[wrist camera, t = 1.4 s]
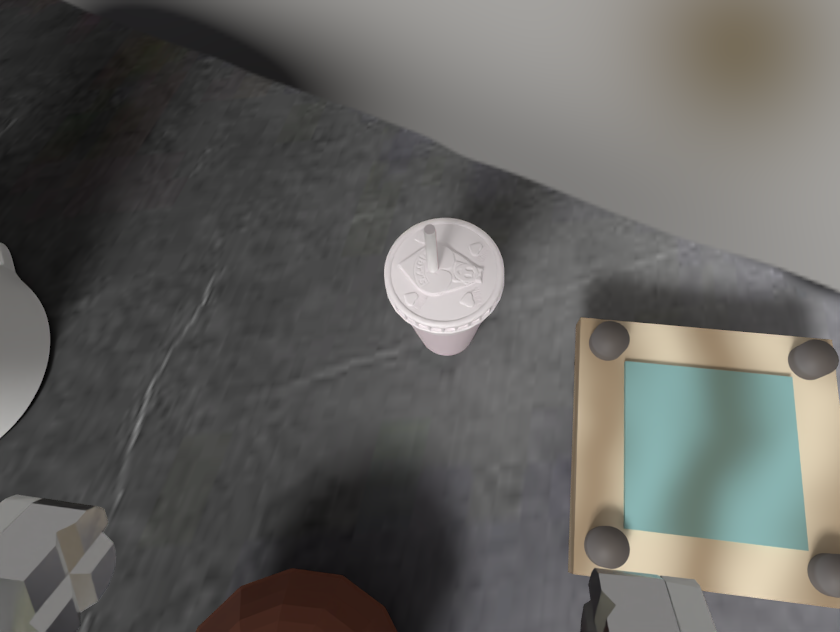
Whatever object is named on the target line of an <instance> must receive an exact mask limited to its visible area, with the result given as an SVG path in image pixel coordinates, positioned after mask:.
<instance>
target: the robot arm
mask: <svg viewBox="0 0 840 632" xmlns="http://www.w3.org/2000/svg"><path fill="white" fill-rule="evenodd" d="M49 351H50V330H49V324H48V319H47V316H46V313H45V310H44V308H43V306H42V304H41V302H40V301H39V299H38V298H37V296H36V295H35V294H34V292H33V291H32V290H31V289H30V288H29V287H28V286H27V285H26V284H25V283H24V282H23V281H22V280H21V279H20V278H19V277H18V275H17V274H16V272H15V268H14V264H13V260H12V257H11V254H10V252H9V249H8V248H7V247H6V246H5V245H4V244H3V243H1V242H0V438H1V437H2V436H3V435H4V434H5V433H6V432H7V431H8V430H9V429H10V428H11V427H12V426H13V425H14V424H15V423H16V422H17V421H18V419H19V418H20V417H21V416H22V414H23V413H24V412H25V410H26V409H27V408H28V406H29V405H30V403H31V401H32V400H33V398H34V396H35V394H36V392H37V391H38V389H39V386H40V384H41V382H42V379H43V376H44V374H45V370H46V367H47V363H48V358H49ZM108 524H109V523H108V520H107V517H106V514H105V510H104V509H103V508H100V507H97V506H91V505H84V504H78V503H71V502H65V501H58V500H52V499H45V498H36V497H29V496H22V495H14V496H11V497H9V498H6V499H4V500H3V501H2V502H1V503H0V632H76V631H77V630H78V628H79V627H80V626H81V611H83V610H85V609H86V608H88V607H90V606H91V605H93V604H94V603H96V602H98V601H99V599H100V598H101V596H102V595H103V593H104V592H105V590H106V589H107V588H108V586H109V584H110V581H111V578H112V576H113V573H114V570H115V566H116V551H115V547H114V543H113V542H112V541H111V540H110V539H109V538H108V537H107V536H106V535H105V534H104V533H103V531H104V529H105V528H106V527H107V525H108ZM588 585H589V592H590V599H591V600H590V601H589V602H587V603H586V604H584V607H583V613H582V618H581V631H580V632H717V630H716V627H715V625H714V622H713V619H712V616H711V614H710V611H709V608H708V606H707V603H706V600H705V598H704V595H703V592H702V590H701V587H700V585H699V584H698V583H697V582H696V580H695V579H687V578H679V577H670V576H662V575H661V576H658V575H655V574H646V573H637V572H629V571H620V570H611V569H602V568H594V569H593V571H592V573H591V576H590V580H589V584H588Z"/></svg>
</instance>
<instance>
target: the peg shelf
mask: <svg viewBox="0 0 840 632" xmlns="http://www.w3.org/2000/svg"><path fill="white" fill-rule="evenodd" d="M838 362H839V359H838V355H837V352H836V351H835V349H834V348H833V345H832V340H828V339H817V338H806V337H794V336H783V335H772V334H761V333H750V332H738V331H727V330H716V329H705V328H694V327H682V326H671V325H660V324H649V323H638V322H626V321H615V320H604V319H593V318H582V317H581V318H580V320H579V321H578V323H577V325H576V341H575V362H574V365H575V373H574V404H573V436H572V468H571V499H570V531H569V562H568V572H569V573H572V574H577V575H585V576H591V573H592V571H593V569H594V568H602V569H611V570H620V571H629V572H637V573H646V574H655V575H658V576H661V575H662V576H670V577H679V578H687V579H695V580H696V582H697V583H698V584H699V585H700V587H701V590H702V591H708V592H715V593H723V594H731V595H738V596H746V597H754V598H762V599H769V600H777V601H785V602H792V603H800V604H808V605H815V606H823V607H831V608H838V609H840V404H839V395H838V387H837V379H836V370H835V369H836V368H837V366H838Z"/></svg>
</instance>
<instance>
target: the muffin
mask: <svg viewBox="0 0 840 632" xmlns="http://www.w3.org/2000/svg"><path fill="white" fill-rule="evenodd" d="M196 632H397V630H396V628H395V626H394V624H393V622H392V620H391V618H390V616H389V614H388V612H387V610H386V608H385V607H384V606H383V605H382V604H380V603H379V602H378V601H376V600H375V599H374V598H372V597H371V596H370V595H368V594H367V593H366V592H364V591H363V590H362V589H360V588H359V587H358V586H356V585H355V584H354V583H352V582H351V581H350V580H348V579H347V578H346V577H344V576H343V575H337V574H330V573H323V572H316V571H308V570H301V569H294V568H291V569H288V570H285V571H282V572H280V573H277V574H274V575H271V576H268V577H266V578H263V579H260V580H257V581H254V582H252V583H249V584H246V585H243V586H241V587H240V588H239V589H237V590H236V591H235V592H234V593H233V594H232V595H231V596H230V597H229V598H228V599H227V600H226V601H225V602H224V603H223V604H222V605H221V606H220V607H219V608H217V609H216V610H215V611H214V612H213V613H212V614H211V615H210V616H209V617H208V618H207V619H206V620H205V621H204V622H203V623H202V624H201V625H200V626H199V627H198V628H197V630H196Z"/></svg>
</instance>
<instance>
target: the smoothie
mask: <svg viewBox="0 0 840 632" xmlns="http://www.w3.org/2000/svg"><path fill="white" fill-rule="evenodd" d="M384 279H385V286H386V291H387V295H388V299H389V300H390V302H391V304H392V306H393V308H394V309H395V311H396V312H397V313H398V314H399V315H400V316H401V317H402V318H403V319H404V320H405V321H406V322H408V323H409V324H411V325H412V326H413V328H414V329H415V331H416V332H417V334H418V335H419V337H420V338H421V340H422V341H423V343H424V344H425V346H426V347H427V348H428V349H429V350H431V351H432V352H434V353H436V354H439V355H454V354H457V353H459V352H461V351H463V350H464V349H466V348H467V347H468V345H469V344H470V343H471V341H472V339H473V337H474V335H475V333H476V331H477V329H478V328H479V326H480V324H481V322H482V321H483V320H484V319H485V318H486V317H488V316H489V315H490V314H491V313H492V312H493V310H494V309H495V307H496V305H497V304H498V302H499V300H500V299H501V295H502V291H503V288H504V264H503V259H502V256H501V253H500V251H499V249H498V247H497V245H496V244H495V242H494V241H493V240H492V238H491V237H490V236H489V235H488V234H487V233H486V232H484V231H483V230H482V229H480V228H479V227H477V226H475V225H474V224H471V223H469V222H466V221H463V220H459V219H454V218H436V219H430V220H427V221H423V222H421V223H418V224H416V225H414V226H413V227H411V228H409V229H408V230H407V231H405V232H404V233H403V234H402V235H401V236H400V237H399V238H398V239H397V240H396V241H395V243H394V244H393V246H392V247H391V249H390V251H389V253H388V256H387V258H386V262H385V268H384Z"/></svg>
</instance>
